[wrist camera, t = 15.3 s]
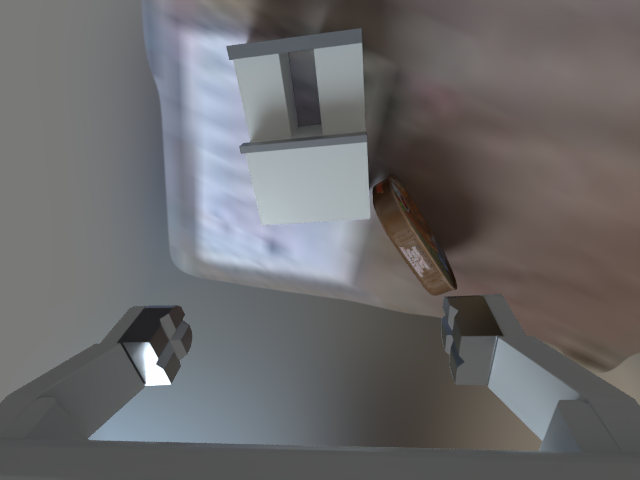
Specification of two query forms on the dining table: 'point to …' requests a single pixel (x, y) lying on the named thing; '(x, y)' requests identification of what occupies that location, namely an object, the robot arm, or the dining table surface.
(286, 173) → the dispenser
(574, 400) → the robot arm
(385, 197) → the tin
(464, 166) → the dining table surface
